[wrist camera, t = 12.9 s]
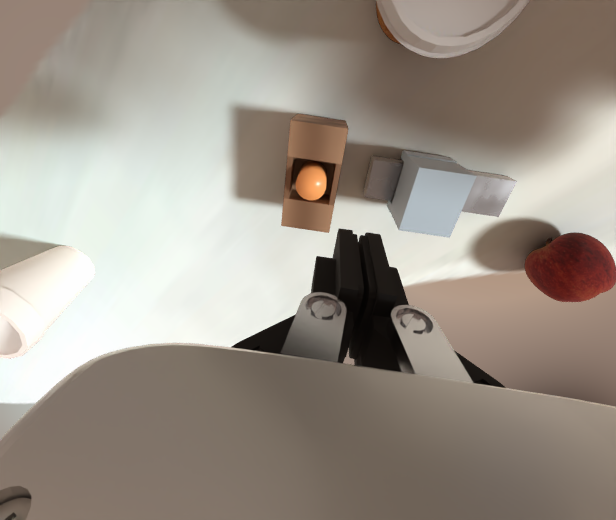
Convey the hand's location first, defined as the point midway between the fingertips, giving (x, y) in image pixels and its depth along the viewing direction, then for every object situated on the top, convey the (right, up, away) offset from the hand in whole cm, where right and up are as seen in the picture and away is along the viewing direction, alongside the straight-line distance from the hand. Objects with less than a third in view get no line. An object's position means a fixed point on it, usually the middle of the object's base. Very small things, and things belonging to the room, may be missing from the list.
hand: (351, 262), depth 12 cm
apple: (+28, +1, +24) cm, 37 cm away
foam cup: (-36, 0, +30) cm, 47 cm away
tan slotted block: (-1, +11, +20) cm, 23 cm away
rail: (+13, +9, +21) cm, 26 cm away
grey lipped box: (+10, +9, +20) cm, 25 cm away
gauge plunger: (-1, +9, +17) cm, 19 cm away
